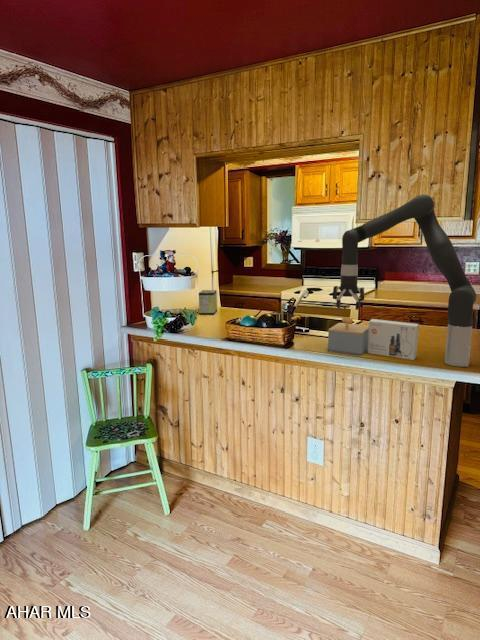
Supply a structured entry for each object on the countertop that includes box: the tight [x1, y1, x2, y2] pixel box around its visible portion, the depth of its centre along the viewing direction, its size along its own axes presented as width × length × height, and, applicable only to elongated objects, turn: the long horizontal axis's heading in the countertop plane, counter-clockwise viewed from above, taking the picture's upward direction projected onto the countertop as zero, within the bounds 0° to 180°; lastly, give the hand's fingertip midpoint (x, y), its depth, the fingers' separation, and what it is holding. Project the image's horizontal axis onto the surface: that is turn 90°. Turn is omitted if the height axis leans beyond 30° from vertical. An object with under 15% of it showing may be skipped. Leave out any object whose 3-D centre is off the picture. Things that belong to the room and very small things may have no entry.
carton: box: [327, 329, 369, 356], centre depth 207 cm, size 16×16×10 cm
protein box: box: [198, 289, 218, 316], centre depth 303 cm, size 10×16×16 cm
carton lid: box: [328, 317, 369, 334], centre depth 206 cm, size 16×16×6 cm
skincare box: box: [367, 318, 420, 361], centre depth 196 cm, size 21×5×16 cm, turn 56°
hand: (347, 308), depth 200 cm, fingers open, 8 cm apart
